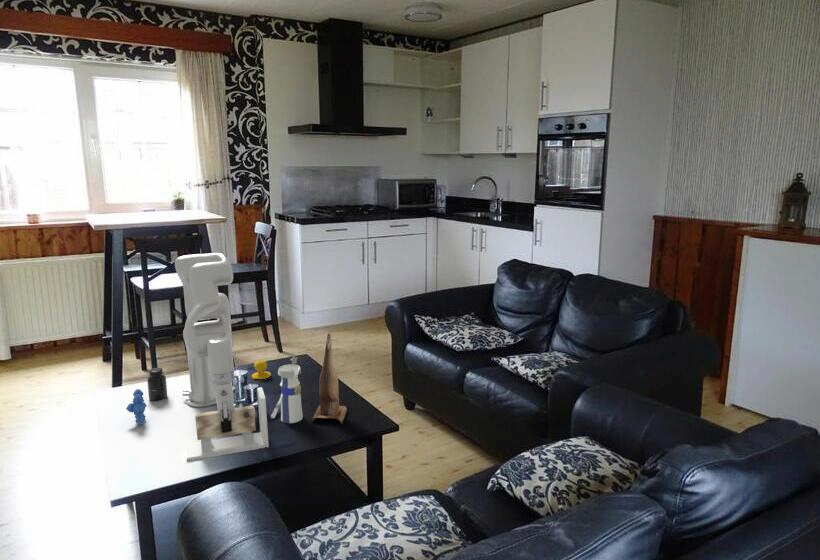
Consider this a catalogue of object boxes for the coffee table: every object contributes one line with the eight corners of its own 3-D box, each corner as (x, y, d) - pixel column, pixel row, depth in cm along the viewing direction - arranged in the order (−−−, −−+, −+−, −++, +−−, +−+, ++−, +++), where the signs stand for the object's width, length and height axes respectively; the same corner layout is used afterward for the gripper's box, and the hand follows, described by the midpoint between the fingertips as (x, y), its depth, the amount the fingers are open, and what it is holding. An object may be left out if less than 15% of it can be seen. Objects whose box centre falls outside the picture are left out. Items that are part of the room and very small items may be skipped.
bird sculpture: (311, 425, 208) (307, 339, 201) (317, 410, 219) (313, 328, 212) (342, 425, 208) (339, 339, 200) (347, 410, 219) (344, 328, 212)
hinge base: (187, 461, 183) (182, 410, 180) (187, 446, 192) (182, 398, 189) (268, 447, 191) (265, 398, 188) (265, 434, 201) (262, 387, 197)
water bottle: (308, 415, 215) (305, 350, 210) (295, 425, 207) (291, 357, 202) (290, 411, 218) (286, 347, 213) (276, 421, 211) (271, 354, 206)
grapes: (128, 417, 215) (124, 386, 213) (148, 414, 218) (145, 383, 215) (127, 430, 205) (123, 398, 202) (148, 427, 207) (144, 395, 205)
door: (197, 441, 186) (195, 418, 184) (197, 437, 189) (195, 413, 187) (255, 432, 192) (254, 409, 190) (254, 427, 195) (253, 405, 193)
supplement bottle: (149, 402, 228) (146, 373, 226) (148, 396, 234) (145, 368, 232) (168, 399, 231) (165, 370, 229) (166, 393, 237) (164, 365, 235)
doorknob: (266, 380, 250) (248, 379, 251) (273, 374, 258) (256, 373, 259) (265, 364, 248) (247, 363, 250) (272, 358, 256) (255, 357, 258)
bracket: (296, 389, 234) (291, 372, 228) (281, 433, 217) (275, 416, 211) (288, 389, 234) (283, 372, 228) (273, 433, 218) (267, 416, 212)
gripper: (235, 382, 181) (240, 438, 184) (232, 366, 196) (236, 418, 199) (210, 386, 178) (215, 442, 182) (209, 369, 193) (213, 421, 197)
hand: (226, 429), depth 191 cm, fingers closed on door, 2 cm apart
